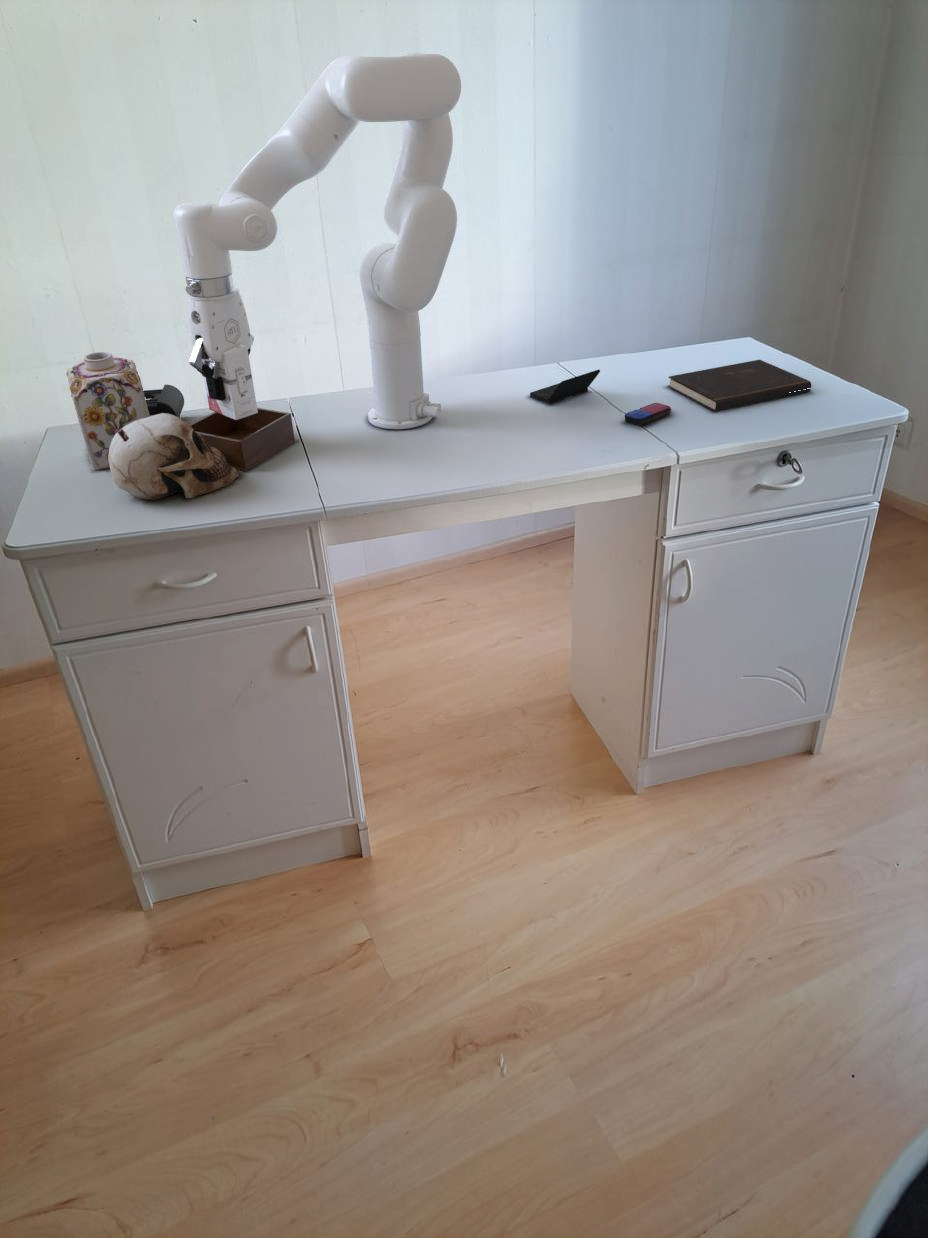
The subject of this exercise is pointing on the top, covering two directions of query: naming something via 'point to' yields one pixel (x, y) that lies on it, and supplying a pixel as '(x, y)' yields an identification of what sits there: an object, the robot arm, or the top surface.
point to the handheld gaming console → (565, 388)
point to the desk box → (247, 436)
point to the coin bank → (166, 459)
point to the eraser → (647, 414)
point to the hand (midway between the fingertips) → (230, 391)
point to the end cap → (164, 401)
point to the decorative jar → (105, 401)
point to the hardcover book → (738, 385)
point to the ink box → (235, 385)
